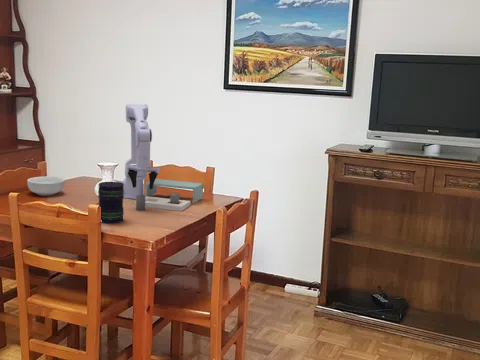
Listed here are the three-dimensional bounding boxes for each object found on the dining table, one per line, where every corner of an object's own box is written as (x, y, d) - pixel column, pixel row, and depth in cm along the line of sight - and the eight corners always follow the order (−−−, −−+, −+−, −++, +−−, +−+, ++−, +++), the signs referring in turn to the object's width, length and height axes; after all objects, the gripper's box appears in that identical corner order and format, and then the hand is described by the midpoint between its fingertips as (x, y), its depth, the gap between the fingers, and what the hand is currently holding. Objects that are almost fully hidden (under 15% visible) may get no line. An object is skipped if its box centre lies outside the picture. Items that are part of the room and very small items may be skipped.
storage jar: (127, 222, 225) (127, 185, 222) (103, 224, 220) (103, 187, 217) (118, 216, 233) (118, 180, 231) (94, 218, 228) (94, 182, 225)
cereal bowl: (20, 193, 267) (20, 178, 265) (52, 189, 279) (52, 174, 278) (39, 199, 256) (39, 184, 255) (72, 194, 268) (71, 180, 267)
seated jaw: (168, 207, 253) (168, 194, 252) (171, 205, 257) (172, 192, 256) (177, 208, 252) (177, 195, 251) (180, 206, 256) (180, 193, 255)
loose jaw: (134, 210, 245) (134, 196, 244) (138, 208, 249) (138, 194, 248) (143, 211, 244) (143, 197, 243) (146, 209, 248) (147, 195, 247)
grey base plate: (134, 205, 253) (134, 201, 252) (145, 200, 264) (145, 196, 264) (181, 211, 248) (181, 206, 247) (190, 205, 259) (190, 201, 259)
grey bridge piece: (144, 197, 266) (145, 182, 265) (155, 192, 278) (155, 178, 277) (194, 202, 261) (195, 187, 259) (202, 197, 272) (203, 183, 271)
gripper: (123, 156, 241) (123, 188, 243) (156, 159, 238) (155, 191, 240) (130, 154, 248) (129, 185, 250) (161, 157, 245) (161, 188, 247)
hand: (142, 188), depth 246 cm, fingers open, 7 cm apart
